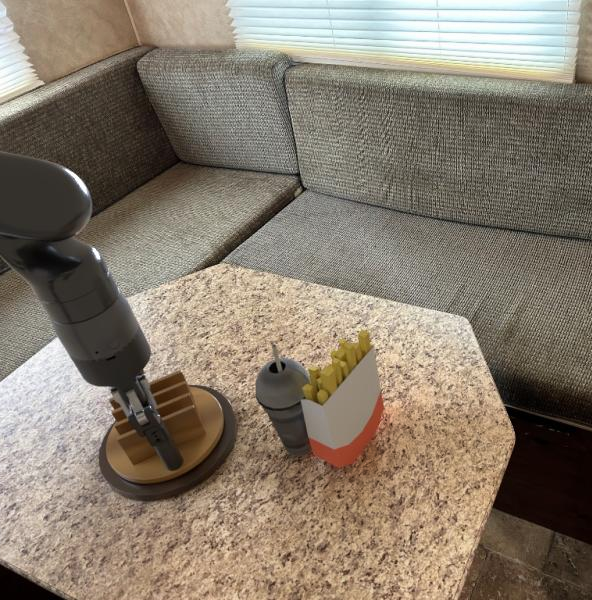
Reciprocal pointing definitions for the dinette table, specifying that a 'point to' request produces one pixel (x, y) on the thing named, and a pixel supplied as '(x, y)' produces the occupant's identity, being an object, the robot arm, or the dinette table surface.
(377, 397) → the french fries container
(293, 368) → the beverage cup
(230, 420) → the base
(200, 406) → the plate rack
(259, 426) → the dinette table surface
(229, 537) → the dinette table surface
